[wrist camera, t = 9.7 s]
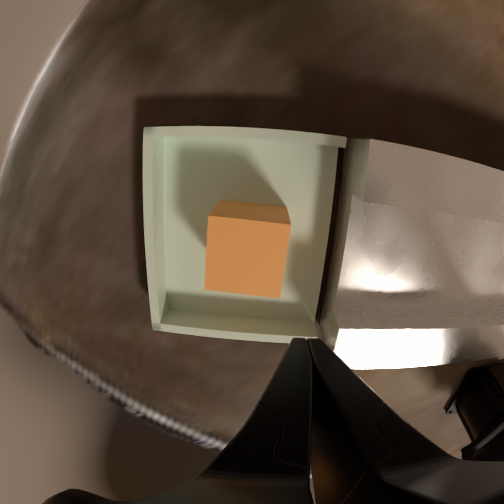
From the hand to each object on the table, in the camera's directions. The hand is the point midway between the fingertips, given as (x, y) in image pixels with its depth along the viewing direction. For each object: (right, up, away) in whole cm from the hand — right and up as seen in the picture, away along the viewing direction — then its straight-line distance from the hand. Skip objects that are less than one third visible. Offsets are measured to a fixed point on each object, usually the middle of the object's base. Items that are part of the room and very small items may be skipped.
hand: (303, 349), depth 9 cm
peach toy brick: (0, +3, +8) cm, 9 cm away
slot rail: (+13, +3, +11) cm, 17 cm away
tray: (-2, +4, +11) cm, 12 cm away
